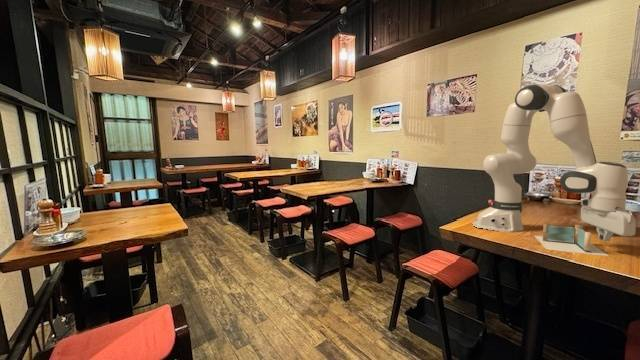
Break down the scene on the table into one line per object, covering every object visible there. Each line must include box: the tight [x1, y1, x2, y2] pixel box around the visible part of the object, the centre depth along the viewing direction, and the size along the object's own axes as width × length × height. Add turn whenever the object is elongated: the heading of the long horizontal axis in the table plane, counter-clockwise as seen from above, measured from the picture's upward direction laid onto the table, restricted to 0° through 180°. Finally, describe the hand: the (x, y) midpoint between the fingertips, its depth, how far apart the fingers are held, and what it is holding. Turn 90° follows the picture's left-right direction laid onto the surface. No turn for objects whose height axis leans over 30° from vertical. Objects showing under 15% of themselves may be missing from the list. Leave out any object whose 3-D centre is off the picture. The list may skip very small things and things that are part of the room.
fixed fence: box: [542, 222, 584, 245], centre depth 110 cm, size 13×2×8 cm, turn 62°
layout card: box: [533, 235, 609, 257], centre depth 108 cm, size 18×19×1 cm
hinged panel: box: [577, 228, 592, 251], centre depth 102 cm, size 9×2×7 cm, turn 150°
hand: (604, 240), depth 99 cm, fingers closed
